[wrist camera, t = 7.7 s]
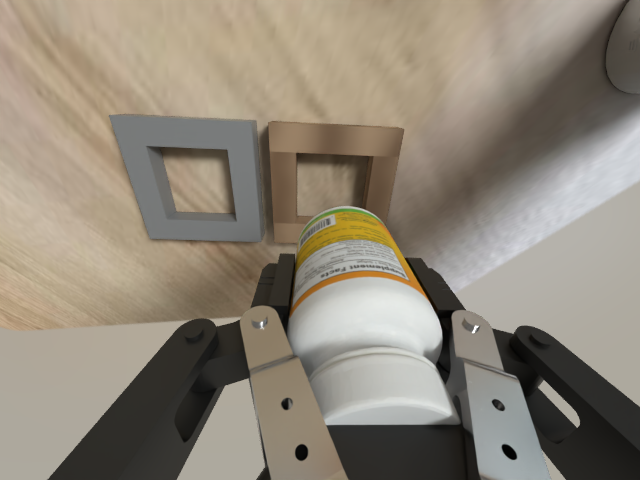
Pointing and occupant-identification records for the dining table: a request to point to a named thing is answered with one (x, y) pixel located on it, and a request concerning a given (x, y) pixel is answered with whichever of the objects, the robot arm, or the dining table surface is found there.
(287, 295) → the robot arm
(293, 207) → the socket
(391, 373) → the supplement bottle
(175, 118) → the socket
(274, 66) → the dining table surface
